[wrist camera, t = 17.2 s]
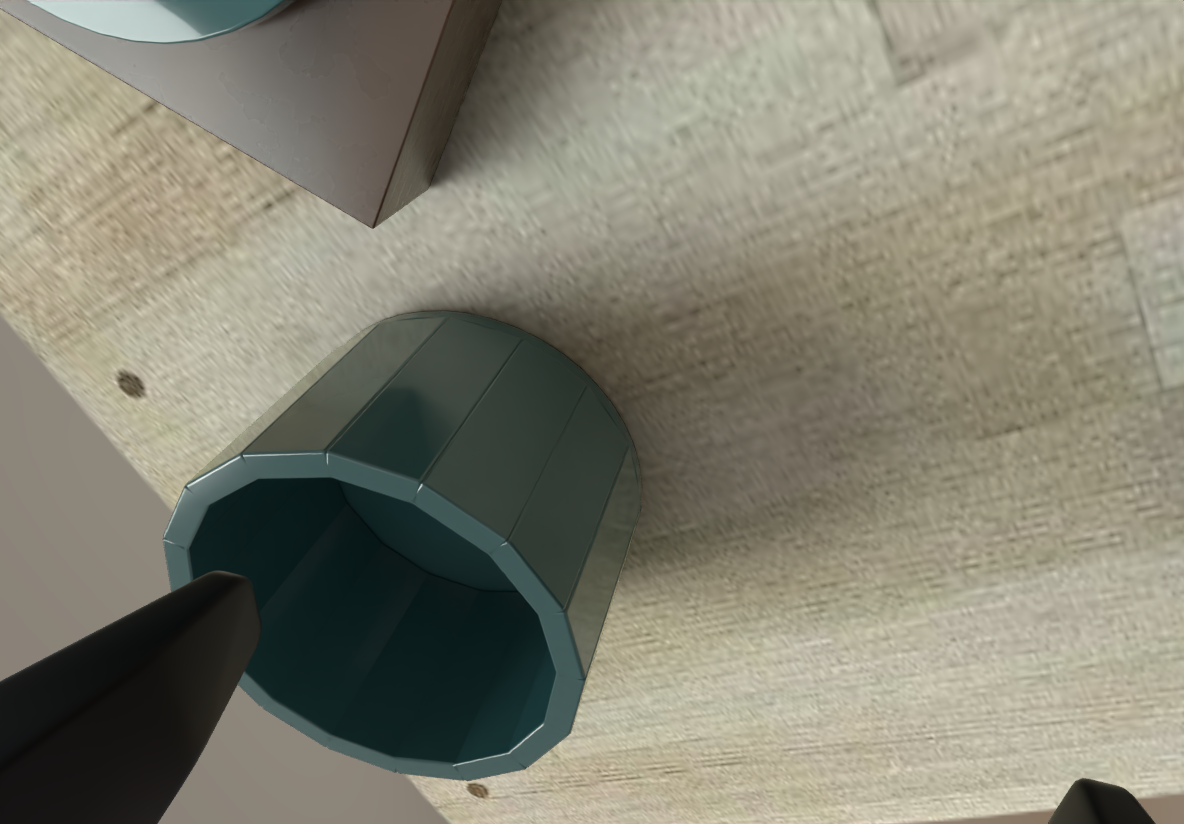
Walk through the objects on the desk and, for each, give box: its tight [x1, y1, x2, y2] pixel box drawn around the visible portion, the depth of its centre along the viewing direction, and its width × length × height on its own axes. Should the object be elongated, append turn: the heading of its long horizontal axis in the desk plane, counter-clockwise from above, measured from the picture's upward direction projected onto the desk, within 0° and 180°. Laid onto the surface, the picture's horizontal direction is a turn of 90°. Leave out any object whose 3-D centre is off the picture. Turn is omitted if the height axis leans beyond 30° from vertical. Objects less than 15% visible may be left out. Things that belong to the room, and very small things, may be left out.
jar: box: [163, 311, 642, 781], centre depth 22 cm, size 11×11×7 cm
